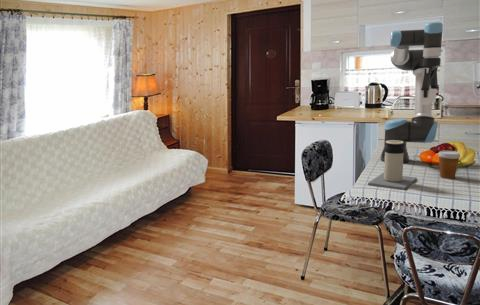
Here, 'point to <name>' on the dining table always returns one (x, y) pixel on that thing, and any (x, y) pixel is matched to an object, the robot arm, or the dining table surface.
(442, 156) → the disposable coffee cup
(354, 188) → the dining table surface
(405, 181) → the placemat
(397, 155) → the travel mug
